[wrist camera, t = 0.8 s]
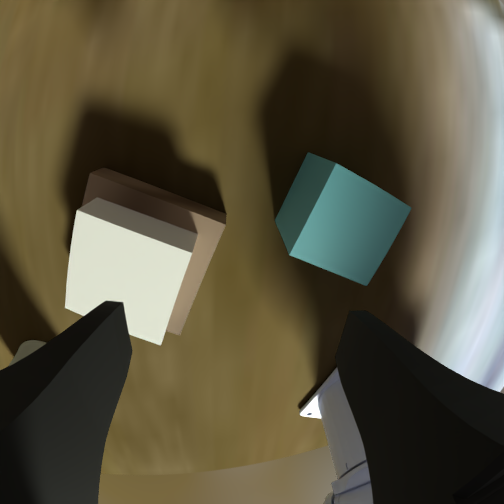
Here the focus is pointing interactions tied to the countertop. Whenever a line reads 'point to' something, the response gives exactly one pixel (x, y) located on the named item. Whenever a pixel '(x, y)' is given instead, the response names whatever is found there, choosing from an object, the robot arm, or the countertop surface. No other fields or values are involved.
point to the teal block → (339, 220)
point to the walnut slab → (169, 211)
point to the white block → (127, 265)
